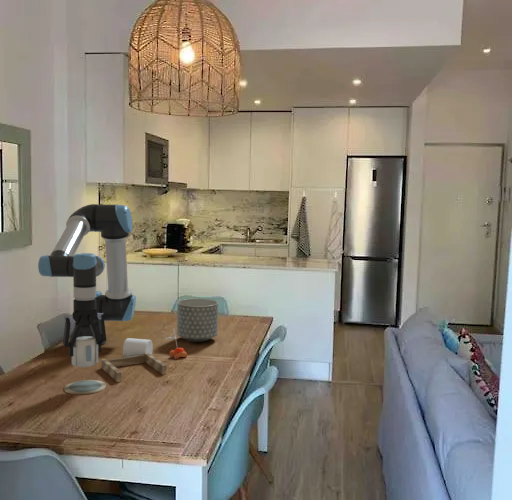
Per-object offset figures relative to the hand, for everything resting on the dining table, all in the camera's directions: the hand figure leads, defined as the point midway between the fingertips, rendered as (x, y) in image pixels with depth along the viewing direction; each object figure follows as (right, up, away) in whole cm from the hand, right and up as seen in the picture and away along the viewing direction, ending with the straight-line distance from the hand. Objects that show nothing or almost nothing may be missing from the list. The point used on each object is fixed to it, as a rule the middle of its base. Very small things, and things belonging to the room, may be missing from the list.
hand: (85, 363), depth 188 cm
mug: (+11, -6, +39) cm, 41 cm away
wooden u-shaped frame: (+12, -7, +20) cm, 25 cm away
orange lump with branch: (+26, -6, +39) cm, 48 cm away
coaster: (0, -9, +1) cm, 9 cm away
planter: (+32, -3, +67) cm, 74 cm away
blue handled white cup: (+1, 0, -1) cm, 1 cm away
